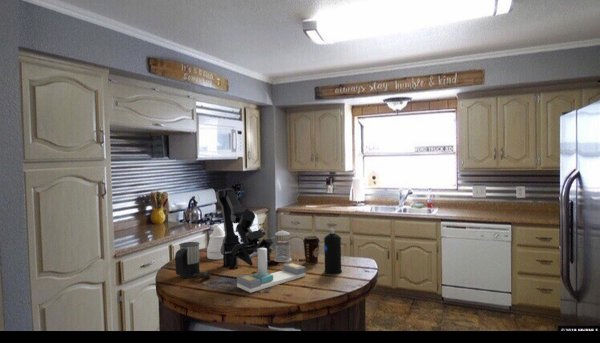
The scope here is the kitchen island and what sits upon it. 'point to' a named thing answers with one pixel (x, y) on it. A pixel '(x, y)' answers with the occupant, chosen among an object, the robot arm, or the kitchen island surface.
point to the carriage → (262, 266)
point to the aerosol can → (332, 253)
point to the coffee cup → (311, 249)
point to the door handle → (255, 252)
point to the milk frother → (188, 261)
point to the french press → (282, 247)
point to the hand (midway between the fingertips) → (261, 263)
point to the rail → (287, 274)
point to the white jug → (215, 243)
